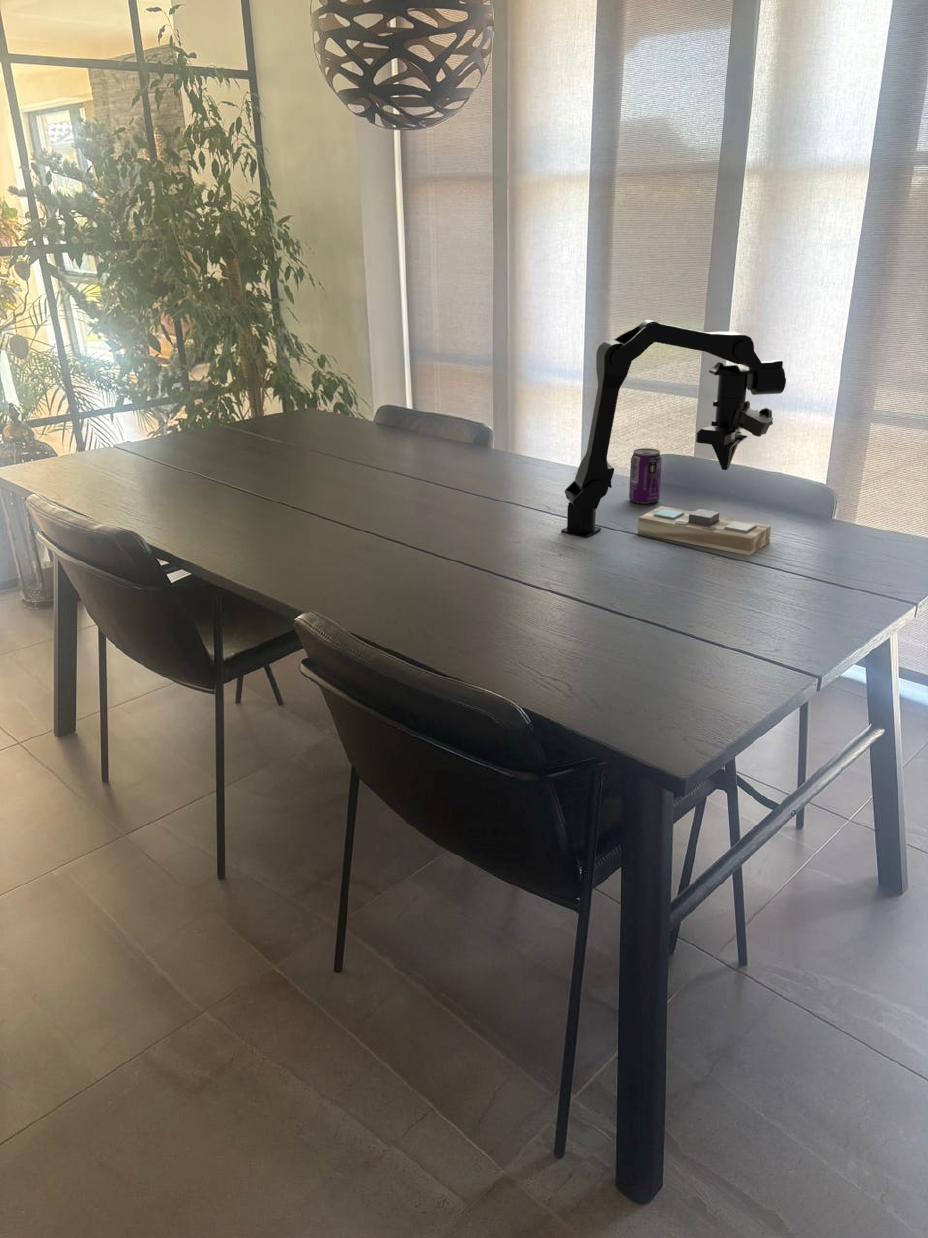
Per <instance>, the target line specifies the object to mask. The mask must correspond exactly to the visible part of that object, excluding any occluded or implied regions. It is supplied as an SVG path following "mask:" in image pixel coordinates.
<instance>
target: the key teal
mask: <svg viewBox="0 0 928 1238" xmlns="http://www.w3.org/2000/svg"><path fill="white" fill-rule="evenodd" d="M683 515H684V512H680V511H675V510H669V509H663V510H661V511H659V512H657V513H655V514H654V517H659V518H665V519H670V520H676V519H678V518H679V517H681V516H683Z"/></svg>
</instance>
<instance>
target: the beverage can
mask: <svg viewBox="0 0 928 1238" xmlns="http://www.w3.org/2000/svg"><path fill="white" fill-rule="evenodd" d="M662 459H663V458H662V456H661V451H660V450H659V449H655V448H647V447H646V448H636V449H634V450H633V453H632V455H631V457H630V471H629V491H628V493H629V494H628V499H629V500H631V501H632V502H634V503H635V502H636V503H635V504H639V503H641V504H640V505H650V503H651V504H654V503H656V502H657V501H659V500H660V498H661V495H660V494H661V482H662V481H661V479H662V478H661V477H662V476H661V475H662V461H663V460H662Z"/></svg>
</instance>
